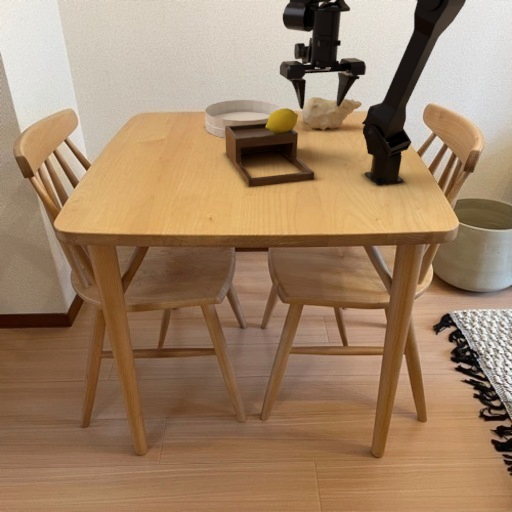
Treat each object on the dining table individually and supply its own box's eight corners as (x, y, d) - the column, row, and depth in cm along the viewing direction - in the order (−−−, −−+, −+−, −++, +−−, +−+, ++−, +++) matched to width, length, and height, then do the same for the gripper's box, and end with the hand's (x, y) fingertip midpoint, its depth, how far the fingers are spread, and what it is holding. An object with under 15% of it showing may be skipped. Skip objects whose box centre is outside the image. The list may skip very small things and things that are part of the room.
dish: (213, 142, 126) (212, 123, 124) (199, 119, 144) (198, 102, 142) (292, 135, 131) (293, 117, 129) (269, 114, 150) (269, 97, 147)
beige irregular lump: (289, 134, 138) (319, 111, 125) (288, 111, 140) (318, 85, 127) (332, 144, 145) (365, 123, 132) (331, 122, 147) (363, 99, 134)
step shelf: (313, 179, 106) (316, 148, 102) (248, 186, 102) (248, 155, 98) (282, 148, 123) (283, 121, 119) (225, 153, 119) (225, 125, 116)
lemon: (267, 134, 116) (298, 122, 115) (271, 142, 112) (303, 129, 111) (260, 113, 113) (292, 100, 112) (263, 120, 109) (296, 107, 108)
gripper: (348, 28, 112) (341, 96, 120) (272, 30, 108) (271, 101, 116) (371, 34, 103) (362, 108, 111) (289, 37, 98) (286, 113, 107)
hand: (320, 107), depth 111 cm, fingers open, 9 cm apart
